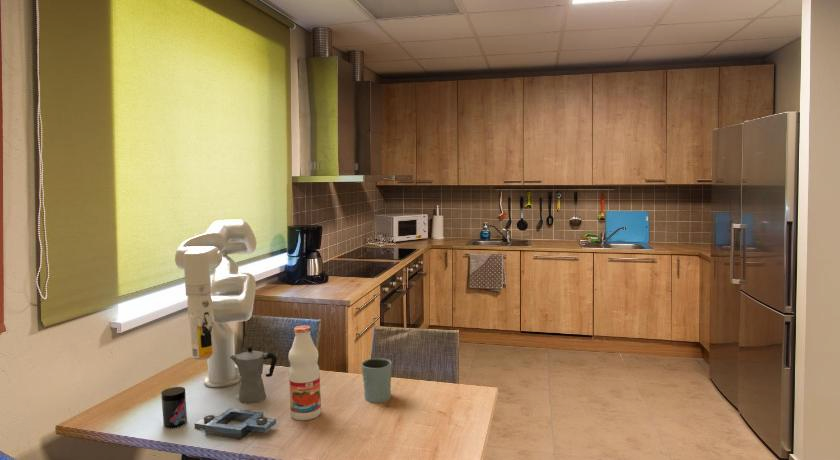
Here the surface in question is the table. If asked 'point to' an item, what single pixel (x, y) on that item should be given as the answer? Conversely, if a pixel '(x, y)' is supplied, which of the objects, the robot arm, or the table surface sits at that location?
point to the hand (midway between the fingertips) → (201, 343)
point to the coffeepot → (252, 374)
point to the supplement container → (174, 407)
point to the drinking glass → (377, 379)
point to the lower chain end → (208, 418)
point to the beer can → (198, 341)
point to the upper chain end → (252, 424)
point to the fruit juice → (304, 376)
